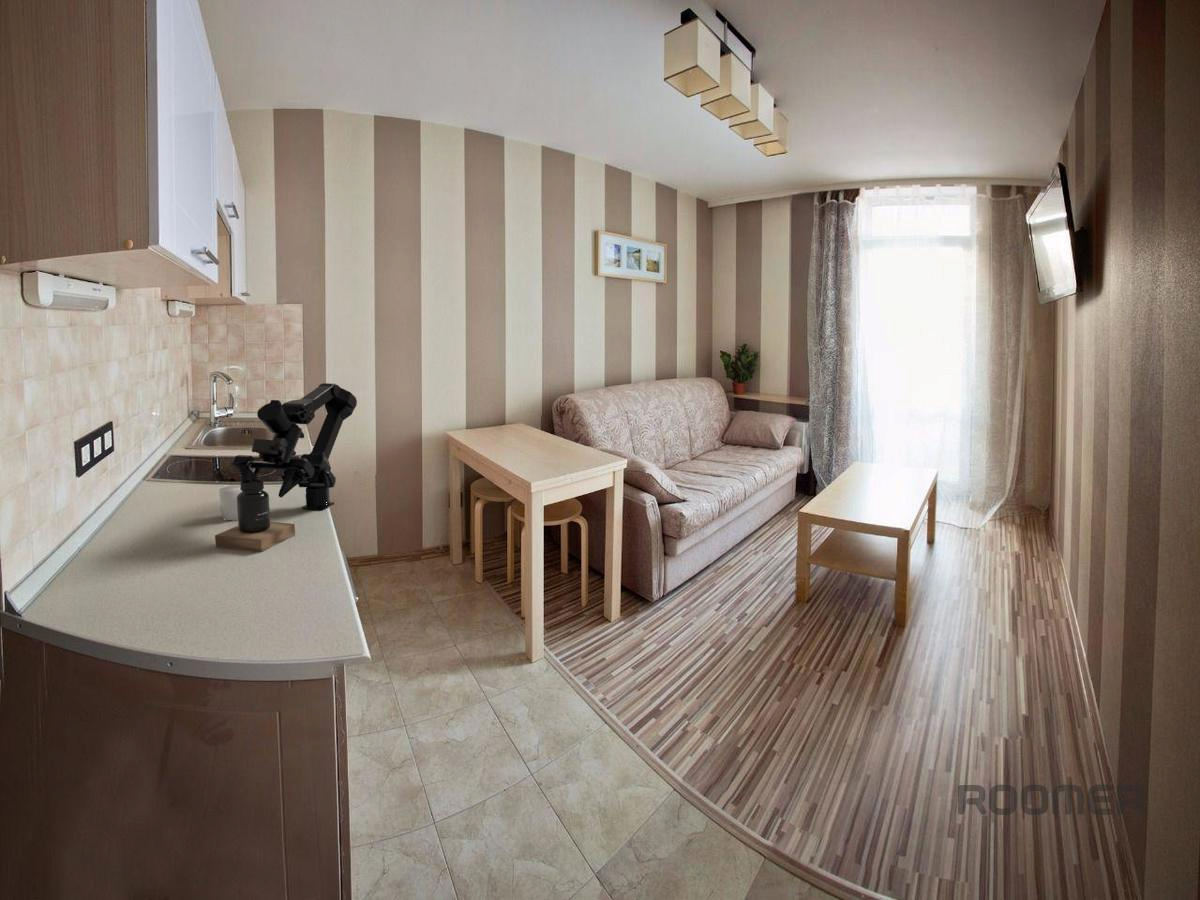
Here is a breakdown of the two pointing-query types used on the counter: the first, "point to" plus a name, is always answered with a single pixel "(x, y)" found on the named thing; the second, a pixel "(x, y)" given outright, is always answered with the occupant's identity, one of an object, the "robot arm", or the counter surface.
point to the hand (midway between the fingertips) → (261, 495)
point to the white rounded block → (229, 502)
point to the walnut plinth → (255, 537)
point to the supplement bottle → (253, 507)
